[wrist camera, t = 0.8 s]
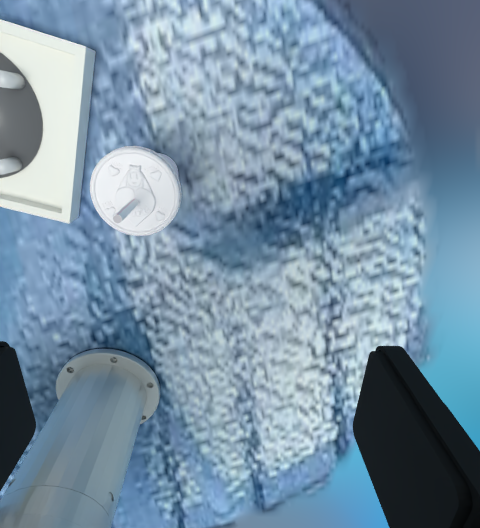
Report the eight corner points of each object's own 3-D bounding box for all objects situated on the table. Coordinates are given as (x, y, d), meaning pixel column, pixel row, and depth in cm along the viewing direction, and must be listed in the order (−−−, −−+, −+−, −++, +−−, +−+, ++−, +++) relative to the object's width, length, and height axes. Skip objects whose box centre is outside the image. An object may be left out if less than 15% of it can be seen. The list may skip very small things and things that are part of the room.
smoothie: (126, 202, 34) (66, 254, 21) (125, 133, 32) (55, 147, 19) (190, 208, 35) (169, 263, 22) (194, 141, 32) (173, 160, 19)
